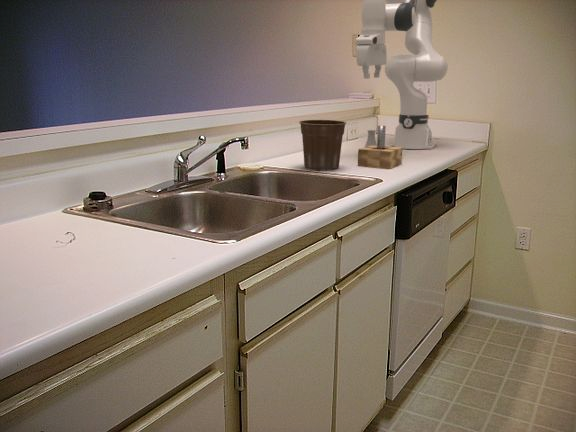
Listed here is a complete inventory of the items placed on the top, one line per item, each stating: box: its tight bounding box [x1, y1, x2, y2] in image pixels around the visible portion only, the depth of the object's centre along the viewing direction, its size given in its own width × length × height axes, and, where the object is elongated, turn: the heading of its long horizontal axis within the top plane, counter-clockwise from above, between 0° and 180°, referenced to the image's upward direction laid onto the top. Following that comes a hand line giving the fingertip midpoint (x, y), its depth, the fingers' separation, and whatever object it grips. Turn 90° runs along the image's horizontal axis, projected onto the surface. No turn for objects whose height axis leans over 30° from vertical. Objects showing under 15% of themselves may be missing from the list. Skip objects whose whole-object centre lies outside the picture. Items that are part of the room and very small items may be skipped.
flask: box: [364, 129, 377, 147], centre depth 226 cm, size 7×7×10 cm
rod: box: [376, 125, 386, 150], centre depth 204 cm, size 3×3×14 cm
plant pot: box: [298, 119, 347, 171], centre depth 198 cm, size 16×16×16 cm
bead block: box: [357, 145, 404, 170], centre depth 205 cm, size 12×12×6 cm
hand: (371, 78), depth 215 cm, fingers open, 8 cm apart
